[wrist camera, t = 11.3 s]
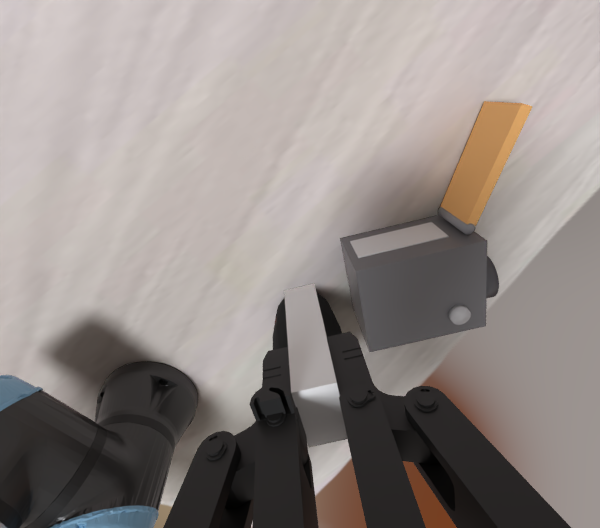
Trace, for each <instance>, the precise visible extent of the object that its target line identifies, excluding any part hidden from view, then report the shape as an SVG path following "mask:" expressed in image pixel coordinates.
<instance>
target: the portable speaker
mask: <svg viewBox="0 0 600 528" xmlns="http://www.w3.org/2000/svg"><path fill="white" fill-rule="evenodd" d="M317 297H318V302H319V306H320V310H321V314H322V318H323V323H324V327H325V331H326V336H327V337H329V336H333V335H338V334H342V332H341V329H340V326H339V324H338V322H337V320H336V318H335V316H334V313H333V311H332V309H331V307H330V305H329V304H328V302H327V301H326V299H325V298H323V297H322V296H321V295H319V294H318V293H317ZM284 347H288V338H287V324H286V309H285V298H284V299H283V301H282V302H281V303H280V305H279V306H278V309H277V314H276V320H275V326H274V332H273V350H276V349H280V348H284Z"/></svg>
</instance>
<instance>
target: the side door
mask: <svg viewBox="0 0 600 528" xmlns="http://www.w3.org/2000/svg"><path fill="white" fill-rule="evenodd" d="M531 109H532V106H529V105H526V104H522V103H504V102H485V101H484V104H483V106H482V109H481V111H480V113H479V116H478V118H477V120H476V123H475V125H474V128H473V130H472V132H471V135H470V137H469V139H468V142H467V144H466V147H465V149H464V151H463V154H462V156H461V158H460V161H459V163H458V166H457V168H456V170H455V173H454V175H453V177H452V180H451V182H450V185H449V187H448V189H447V192H446V194H445V196H444V199H443V201H442V204H441V207H440V208H439V209H438V214H439V215H440V216H441V217H443V218H444V219H445V220H447V221H448V222H449V223H451V224H452V225H453V226H455V227H456V228H458V229H459V230H460V231H462V232H463V233H464V234H466V235H470V234H472V233H473V232H474V230H475V226H476V224H477V222H478V220H479V218H480V216H481V214H482V212H483V210H484V207H485V205H486V203H487V201H488V199H489V197H490V195H491V193H492V191H493V189H494V186H495V184H496V182H497V180H498V178H499V176H500V174H501V172H502V170H503V168H504V165H505V163H506V161H507V159H508V157H509V155H510V153H511V151H512V149H513V146H514V144H515V142H516V140H517V138H518V136H519V134H520V132H521V130H522V128H523V125H524V123H525V121H526V119H527V117H528V115H529V113H530V111H531Z"/></svg>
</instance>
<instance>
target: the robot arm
mask: <svg viewBox="0 0 600 528" xmlns="http://www.w3.org/2000/svg"><path fill="white" fill-rule="evenodd" d="M284 295H285V309H286V324H287V338H288V347H284V348H280V349H276V350H271V351H268V352H267V354H266V356H265V358H264V360H263V383H262V388H261V389H260V390H258V391H257V392H256V393H255V394H254V395H253V397H252V398H251V402H250V406H251V409H252V411H253V414H254V416H255V419H256V422H255V423H254V424H253V425H252V426H251V427H249V428H248V429H246V430H244V431H242V432H241V433H239V434H237V435H235V436H233V435H232V434H231V433H230V432H225V431H221V432H216V433H214V434H212V435H210V436H208V437H207V438H206V439H205V440H204V441H203V442H202V443H201V445H200V446H199V448H198V450H197V452H196V454H195V456H194V459H193V461H192V463H191V466H190V468H189V470H188V472H187V475H186V477H185V479H184V482H183V484H182V486H181V489H180V491H179V493H178V495H177V498H176V500H175V502H174V505H173V507H172V509H171V511H170V514H169V516H168V519H167V521H166V523H165V525H164V527H163V528H251V524H252V520H253V528H318V520H317V510H316V502H315V492H314V483H313V475H312V466H311V460H310V457H309V454H308V447H307V443H308V446H309V447H313V446H317V445H322V444H326V443H331V442H336V441H340V440H345V439H348V443H349V447H350V452H351V456H352V461H353V465H354V470H355V475H356V479H357V484H358V488H359V493H360V498H361V502H362V507H363V511H364V516H365V521H366V525H367V528H426V527H425V524H424V522H423V518H422V516H421V513H420V510H419V507H418V504H417V501H416V499H415V496H414V493H413V490H412V487H411V484H410V482H409V479H408V476H407V473H406V470H405V467H404V465H403V462H402V461H409V462H414V464H415V466H416V467H417V469H418V470H419V472H420V473H421V475H422V476H423V478H424V479H425V481H426V482H427V484H428V485H429V487H430V488H431V490H432V491H433V493H434V494H435V495H436V497H437V499H438V500H439V502H440V503H441V505H442V506H443V507H444V509H445V510H446V512H447V513H448V515H449V516H450V518H451V519H452V521H453V522H454V524H455V525H456V527H457V528H571V527H570V526H569V525H568V524H567V523H566V522H565V521H564V520H563V519H562V518H561V517H560V515H559V514H558V513H557V512H556V511H555V510H554V509H553V508H552V507H551V506H550V505H549V504H548V503H547V502H546V501H545V500H544V499H543V498H542V497H541V496H540V494H539V493H538V492H537V491H536V490H535V489H534V488H533V487H532V486H531V485H530V484H529V483H528V482H527V481H526V480H525V479H524V478H523V477H522V475H521V474H520V473H519V472H518V471H517V470H516V469H515V468H514V467H513V466H512V465H511V464H510V463H509V462H508V461H507V460H506V459H505V458H504V457H503V455H502V454H501V453H500V452H499V451H498V450H497V449H496V448H495V447H494V446H493V445H492V444H491V443H490V442H489V441H488V440H487V439H486V438H485V436H484V435H483V434H482V433H481V432H480V431H479V430H478V429H477V428H476V427H475V426H474V425H473V424H472V423H471V422H470V421H469V420H468V419H467V418H466V416H465V415H463V413H462V412H461V411H460V410H459V409H458V408H457V407H456V406H455V405H454V404H453V403H452V402H451V401H450V400H449V399H448V398H447V397H446V396H445V394H443V393H442V392H441V391H439V390H438V389H436V388H433V387H430V386H419V387H415V388H413V389H411V390H410V391H409V392H408V393H407V394H406V396H392V395H387V394H385V393H382V392H381V391H379V390H378V389H377V388H376V387H375V386H374V384H373V382H372V379H371V376H370V374H369V371H368V368H367V365H366V362H365V359H364V356H363V354H362V351H361V348H360V345H359V342H358V339H357V338H356V337H355V336H354V335H353V334H352V333H350V332H347V333H342V334H338V335H333V336H329V337H327V336H326V331H325V327H324V323H323V318H322V314H321V310H320V306H319V302H318V297H317V293H316V289H315V285H314V283H313V284H309V285H305V286H301V287H296V288H292V289H288V290H284ZM42 390H43V389H42V388H41V387H34V386H32V385H31V384H29V383H27V382H25V381H23V380H21V379H19V378H17V377H15V376H12V375H1V376H0V528H153V527H154V524H155V522H156V520H157V518H158V510H159V506H160V502H161V498H162V495H163V491H164V487H165V483H166V479H167V475H168V471H169V468H170V464H171V460H172V456H173V452H174V449H175V446H176V444H177V442H178V441H179V439H180V438H181V436H182V435H183V433H184V431H185V430H186V428H187V427H188V426H189V425H190V423H191V422H192V420H193V418H194V415H195V412H196V408H197V403H198V395H197V391H196V388H195V386H194V385H193V383H192V382H191V380H190V379H189V378H188V377H187V376H185V375H184V374H183V373H182V372H180V371H178V370H177V369H175V368H173V367H170V366H167V365H164V364H160V363H155V362H137V363H131V364H128V365H125V366H122V367H120V368H118V369H117V370H115V371H114V372H113V373H111V374H110V375H109V377H108V378H107V379H106V381H105V383H104V385H103V386H102V388H101V390H100V392H99V395H98V399H97V407H96V416H95V422H94V421H92V420H90V419H89V418H87V417H85V416H84V415H82V414H80V413H79V412H77V411H75V410H74V409H72V408H71V407H69V406H67V405H66V404H64V403H62V402H61V401H59V400H57V399H56V398H54V397H52V396H51V395H49V394H47V393H46V392H44V391H42Z"/></svg>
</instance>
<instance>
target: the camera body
mask: <svg viewBox="0 0 600 528" xmlns="http://www.w3.org/2000/svg"><path fill="white" fill-rule="evenodd" d="M340 240H341V246H342V251H343V256H344V262H345V267H346V272H347V278H348V283H349V288H350V294H351V299H352V304H353V309H354V312H355V315H356V317H357V320H358V323H359V325H360V328H361V331H362V333H363V336H364V339H365V341H366V344H367V346H368V349H369V352H373V351H377V350H382V349H386V348H390V347H395V346H399V345H404V344H408V343H413V342H417V341H421V340H426V339H430V338H435V337H439V336H444V335H448V334H452V333H457V332H461V331H466V330H470V329H475V328H479V327H483V326H486V298H490V297H494V296H496V294H497V292H498V289H499V281H498V275H497V272H496V269H495V266H494V264H493V263H492V261H491V259H490V258H489V257H488V256H487V240H485V239H484V238H482V237H481V236H480V235H478V234H477V233H475V232H473V233H472V234H470V235H466V234H464V233H463V232H462V231H460V230H459V229H458V228H456V227H455V226H453V225H452V224H451V223H449V222H448V221H447V220H445V219H444V218H443V217H441V216H440V215H437V216H433V217H428V218H424V219H420V220H416V221H411V222H407V223H403V224H399V225H395V226H390V227H386V228H382V229H378V230H373V231H369V232H365V233H361V234H357V235H352V236H348V237H344V238H340Z"/></svg>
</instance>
